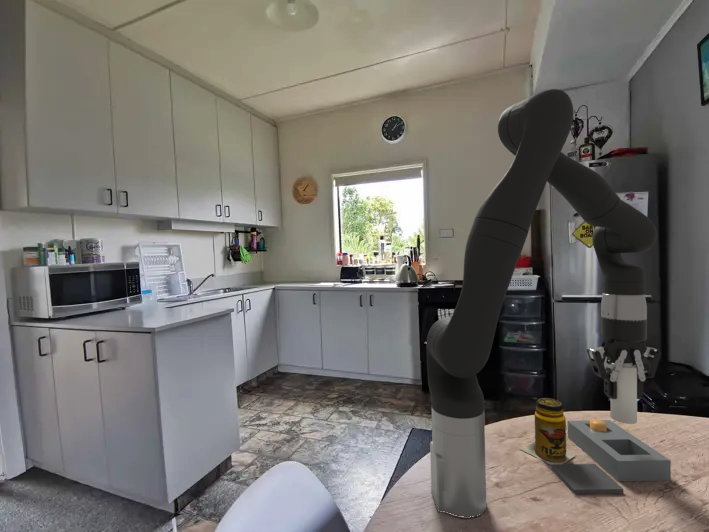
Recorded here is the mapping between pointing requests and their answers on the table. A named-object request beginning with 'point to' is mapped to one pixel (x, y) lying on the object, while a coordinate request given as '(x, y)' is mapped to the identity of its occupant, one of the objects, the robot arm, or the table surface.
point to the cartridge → (625, 395)
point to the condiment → (549, 433)
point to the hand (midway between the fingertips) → (623, 397)
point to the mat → (586, 479)
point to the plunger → (598, 425)
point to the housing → (620, 452)
